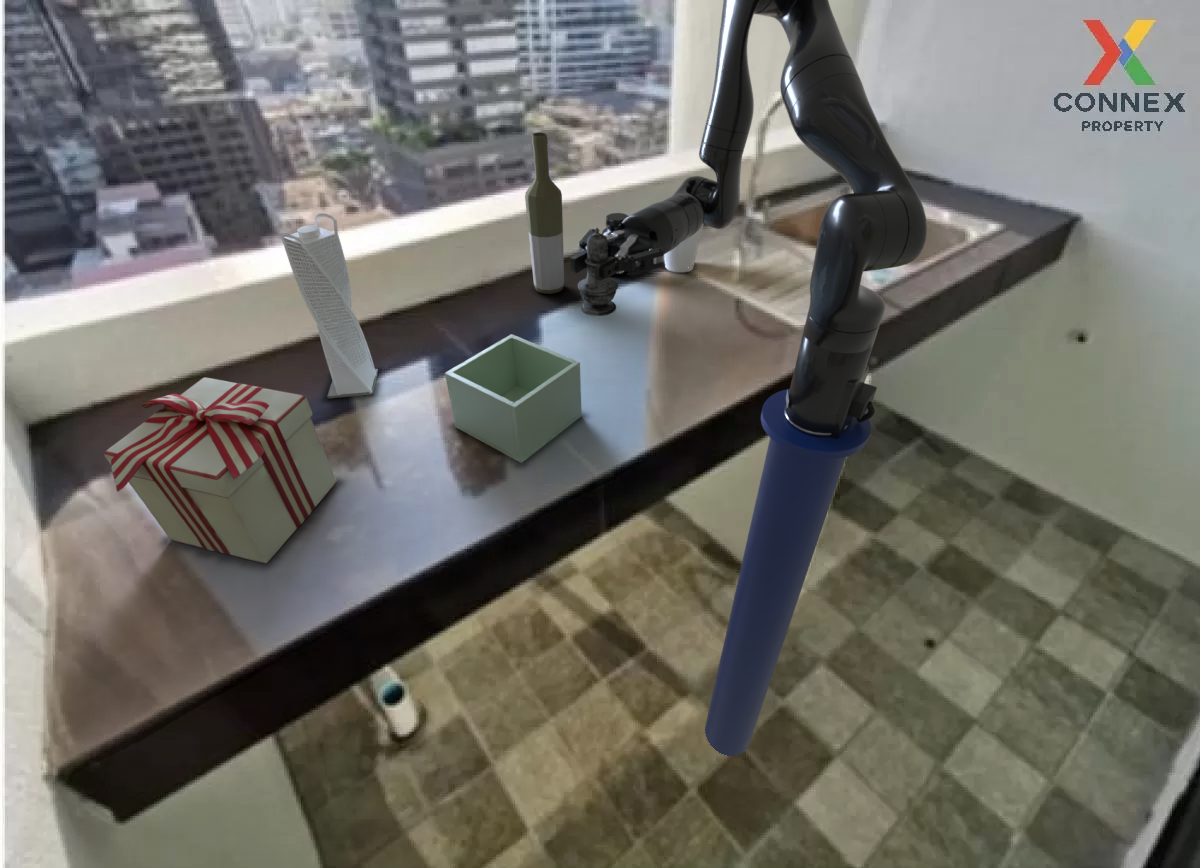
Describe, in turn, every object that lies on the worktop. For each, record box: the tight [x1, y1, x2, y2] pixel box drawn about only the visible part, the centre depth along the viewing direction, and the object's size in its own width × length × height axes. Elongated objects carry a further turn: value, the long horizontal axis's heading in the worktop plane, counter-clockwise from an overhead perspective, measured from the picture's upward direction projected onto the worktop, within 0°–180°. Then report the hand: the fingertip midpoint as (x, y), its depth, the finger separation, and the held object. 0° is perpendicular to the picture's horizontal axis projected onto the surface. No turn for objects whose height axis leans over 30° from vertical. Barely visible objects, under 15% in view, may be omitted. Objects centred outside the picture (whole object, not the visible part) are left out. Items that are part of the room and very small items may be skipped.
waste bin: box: [444, 333, 583, 464], centre depth 89 cm, size 14×14×10 cm
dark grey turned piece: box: [577, 227, 619, 317], centre depth 86 cm, size 6×6×12 cm
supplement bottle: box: [601, 212, 629, 277], centre depth 130 cm, size 7×7×12 cm
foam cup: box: [664, 224, 704, 273], centre depth 131 cm, size 10×9×13 cm
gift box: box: [103, 377, 337, 564], centre depth 71 cm, size 17×18×17 cm
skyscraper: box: [281, 212, 379, 399], centre depth 91 cm, size 8×8×28 cm
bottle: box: [524, 132, 565, 295], centre depth 118 cm, size 7×7×30 cm
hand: (585, 269), depth 83 cm, fingers closed on dark grey turned piece, 3 cm apart
